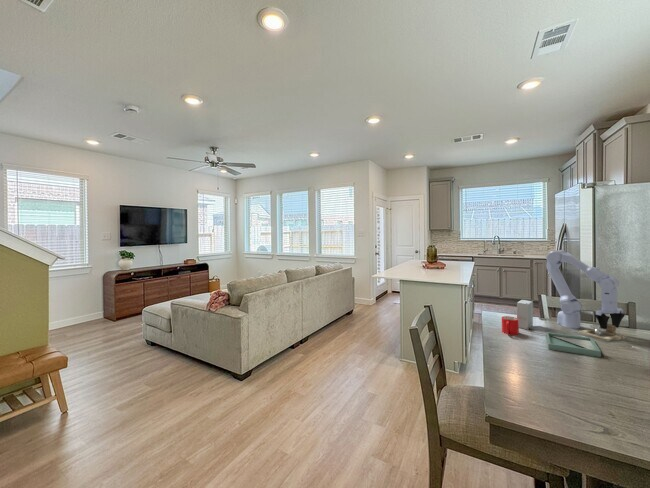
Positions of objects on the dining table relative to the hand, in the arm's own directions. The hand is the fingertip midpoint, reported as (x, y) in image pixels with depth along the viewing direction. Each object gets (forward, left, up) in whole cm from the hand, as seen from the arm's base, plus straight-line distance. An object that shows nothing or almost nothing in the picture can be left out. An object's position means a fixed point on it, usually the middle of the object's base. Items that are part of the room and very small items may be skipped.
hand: (609, 327), depth 145 cm
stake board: (0, -6, -5) cm, 7 cm away
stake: (0, -7, -3) cm, 8 cm away
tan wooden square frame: (0, -6, -4) cm, 7 cm away
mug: (-19, -41, -5) cm, 45 cm away
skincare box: (-25, -25, -5) cm, 35 cm away
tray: (+3, -28, -5) cm, 28 cm away
